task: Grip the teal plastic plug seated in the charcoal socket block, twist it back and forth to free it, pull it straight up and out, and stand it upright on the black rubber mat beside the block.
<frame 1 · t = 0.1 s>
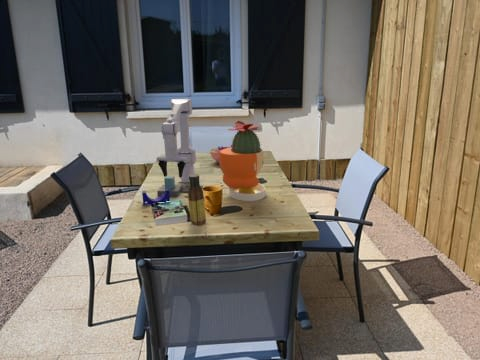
hand: (173, 176, 194), 10 cm above the table, tool pointing down, fingers open, 7 cm apart
potted cactus: (242, 195, 198), on the table
plug: (169, 185, 202), in the socket block
cable clip: (156, 203, 190), on the table
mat: (192, 189, 207), on the table
socket block: (170, 192, 203), on the table
sauce bottle: (197, 223, 165), on the table
cell model: (225, 163, 260), on the table
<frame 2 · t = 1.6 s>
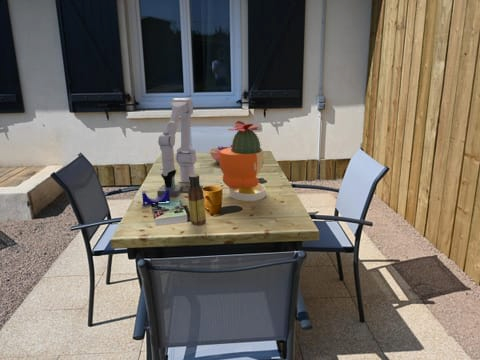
hand: (170, 186, 202), 3 cm above the table, tool pointing down, fingers closed on plug, 4 cm apart
plug: (169, 184, 202), in the socket block, touching gripper
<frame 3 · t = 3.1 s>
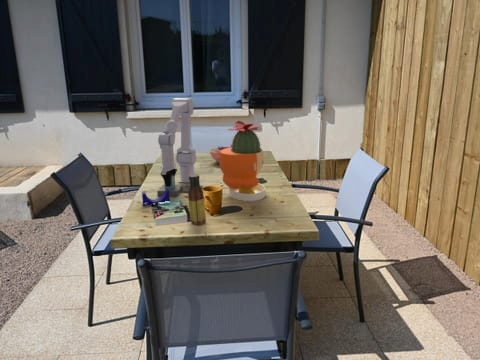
hand: (169, 184, 202), 4 cm above the table, tool pointing down, fingers closed on plug, 4 cm apart
plug: (169, 183, 202), in the socket block, point 5 cm above the table, touching gripper
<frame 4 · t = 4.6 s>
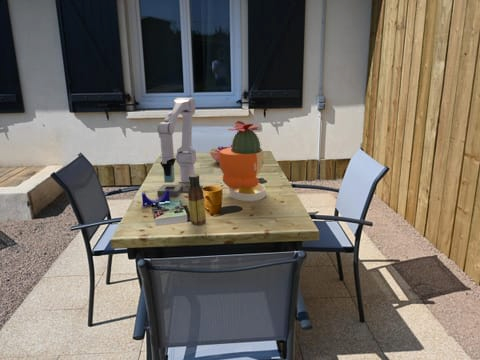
hand: (169, 174, 201), 9 cm above the table, tool pointing down, fingers closed on plug, 4 cm apart
plug: (169, 173, 201), point 10 cm above the table, touching gripper
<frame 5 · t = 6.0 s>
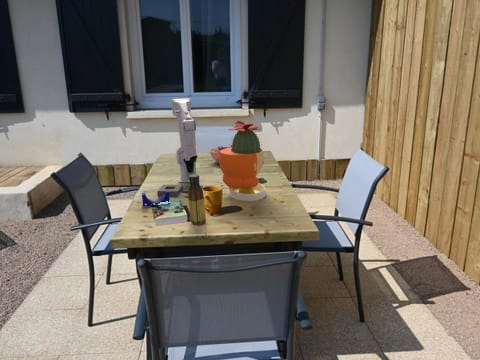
hand: (191, 171, 205), 10 cm above the table, tool pointing down, fingers closed on plug, 4 cm apart
plug: (191, 170, 204), point 10 cm above the table, touching gripper
when the fingers open (5 cm above the table, at t = 7.3 s): plug drops 1 cm, resting on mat.
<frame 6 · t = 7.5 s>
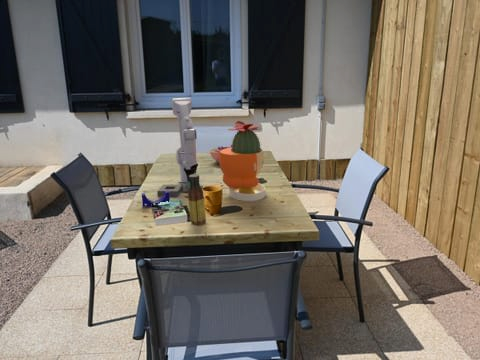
hand: (191, 179, 206), 5 cm above the table, tool pointing down, fingers open, 5 cm apart
plug: (191, 180, 206), on the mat, point 5 cm above the table
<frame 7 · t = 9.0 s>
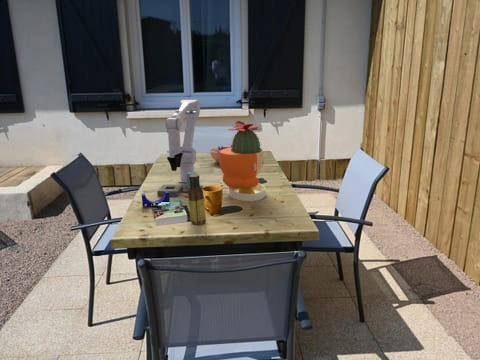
hand: (176, 168, 206), 10 cm above the table, tool pointing down, fingers open, 7 cm apart
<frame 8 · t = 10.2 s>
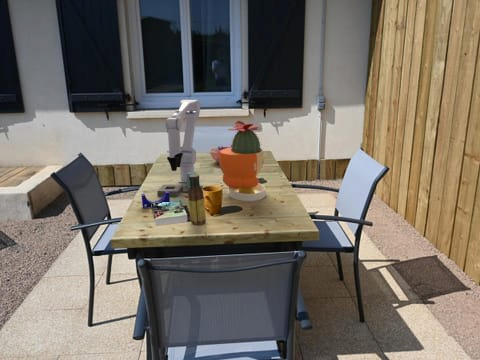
hand: (176, 168, 206), 10 cm above the table, tool pointing down, fingers open, 7 cm apart
at the end: plug inside the target area on the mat (0.1 cm from its centre), point 4.6 cm above the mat's base; plug tilted 0°; the gripper is holding nothing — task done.
